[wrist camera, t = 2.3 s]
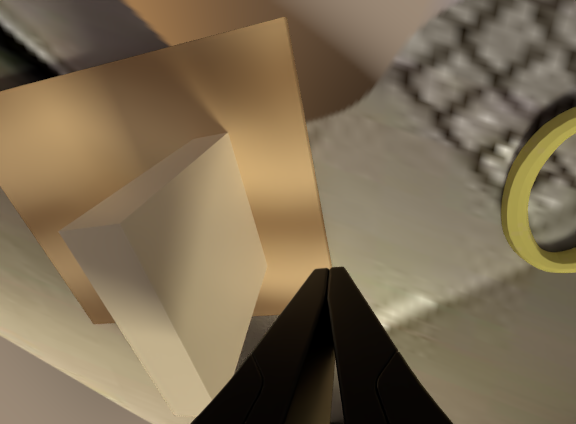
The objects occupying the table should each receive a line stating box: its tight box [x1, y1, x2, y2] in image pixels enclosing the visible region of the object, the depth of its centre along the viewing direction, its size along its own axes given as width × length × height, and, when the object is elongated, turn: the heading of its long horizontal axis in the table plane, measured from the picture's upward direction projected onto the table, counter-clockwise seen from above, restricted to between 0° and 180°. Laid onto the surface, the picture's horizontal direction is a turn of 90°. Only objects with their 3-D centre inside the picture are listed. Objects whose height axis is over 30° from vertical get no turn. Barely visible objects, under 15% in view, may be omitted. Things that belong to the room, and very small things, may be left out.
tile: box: [58, 132, 267, 417], centre depth 12 cm, size 7×2×8 cm, turn 12°
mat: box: [0, 17, 332, 324], centre depth 16 cm, size 14×16×1 cm
